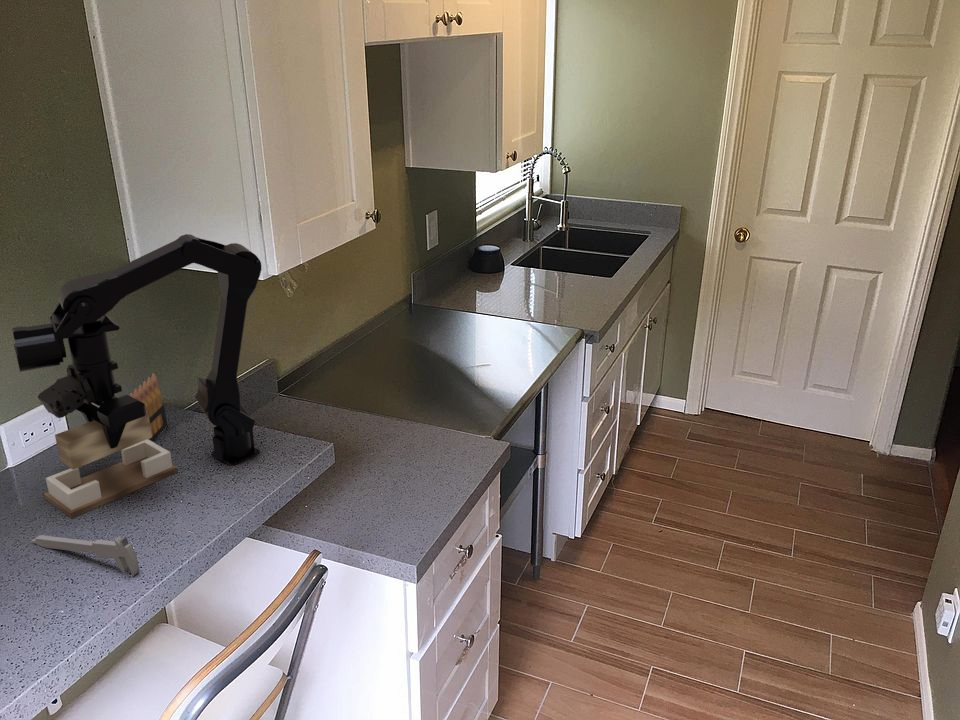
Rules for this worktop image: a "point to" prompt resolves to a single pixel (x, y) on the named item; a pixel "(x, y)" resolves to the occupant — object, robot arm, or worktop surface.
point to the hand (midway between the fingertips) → (107, 443)
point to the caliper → (96, 549)
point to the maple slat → (97, 441)
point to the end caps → (91, 491)
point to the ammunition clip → (152, 405)
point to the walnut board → (113, 485)
